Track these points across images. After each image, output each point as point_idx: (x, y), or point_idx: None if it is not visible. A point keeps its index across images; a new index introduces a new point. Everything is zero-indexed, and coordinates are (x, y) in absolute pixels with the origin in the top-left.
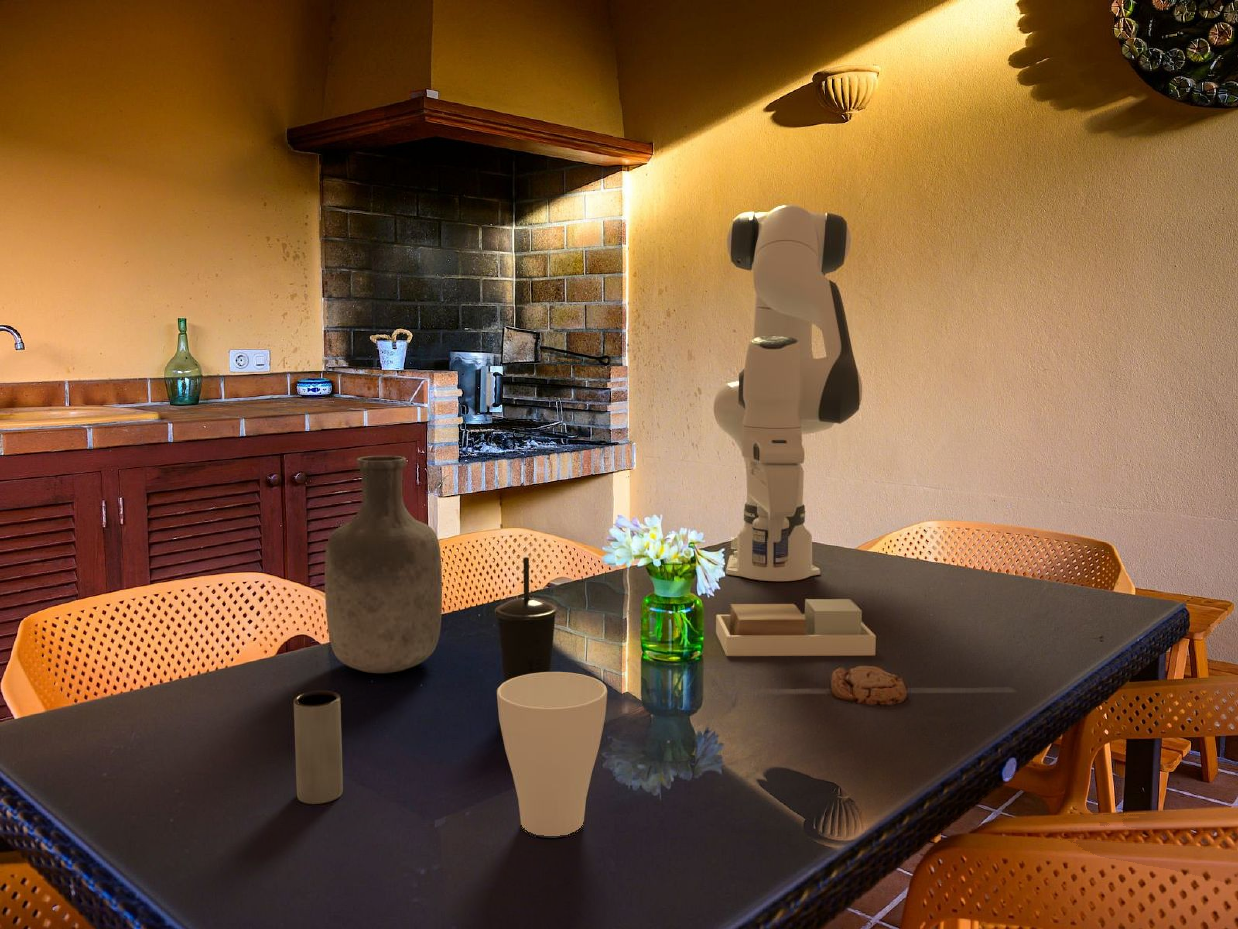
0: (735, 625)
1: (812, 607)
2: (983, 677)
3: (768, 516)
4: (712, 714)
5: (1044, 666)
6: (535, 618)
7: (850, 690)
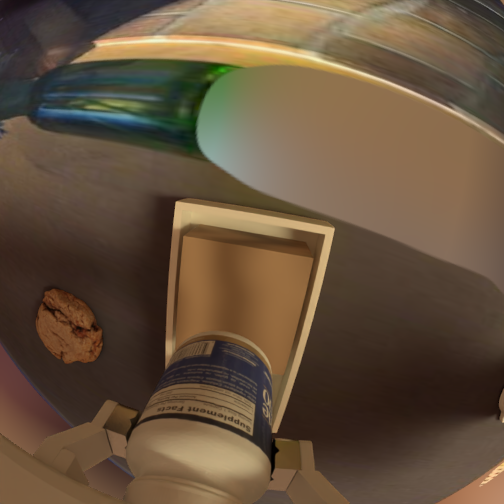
0: (236, 238)
1: None
2: None
3: (62, 455)
4: (24, 139)
5: None
6: None
7: (46, 304)
